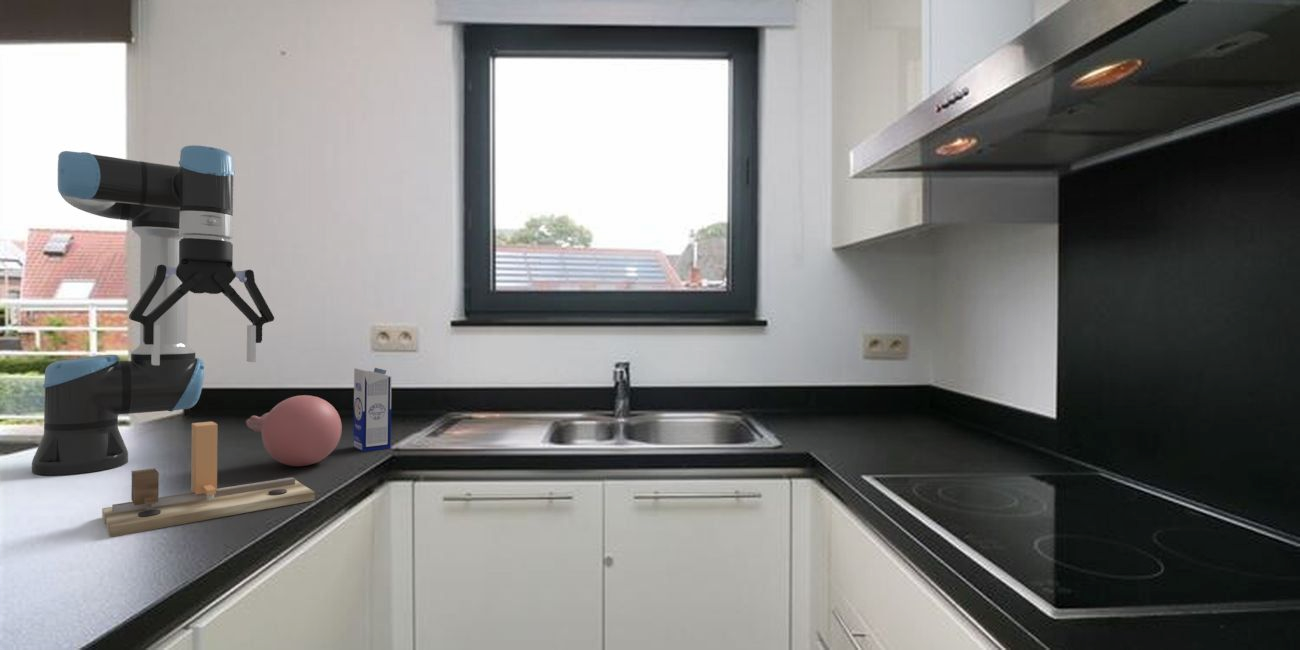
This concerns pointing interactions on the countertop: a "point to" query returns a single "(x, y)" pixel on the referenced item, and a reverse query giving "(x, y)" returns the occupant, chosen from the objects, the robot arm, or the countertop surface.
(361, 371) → the milk carton
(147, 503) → the wooden slotted board
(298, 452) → the balloon
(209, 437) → the orange wooden block
